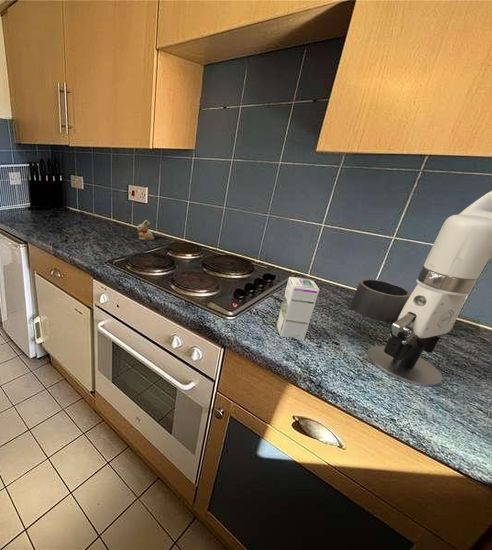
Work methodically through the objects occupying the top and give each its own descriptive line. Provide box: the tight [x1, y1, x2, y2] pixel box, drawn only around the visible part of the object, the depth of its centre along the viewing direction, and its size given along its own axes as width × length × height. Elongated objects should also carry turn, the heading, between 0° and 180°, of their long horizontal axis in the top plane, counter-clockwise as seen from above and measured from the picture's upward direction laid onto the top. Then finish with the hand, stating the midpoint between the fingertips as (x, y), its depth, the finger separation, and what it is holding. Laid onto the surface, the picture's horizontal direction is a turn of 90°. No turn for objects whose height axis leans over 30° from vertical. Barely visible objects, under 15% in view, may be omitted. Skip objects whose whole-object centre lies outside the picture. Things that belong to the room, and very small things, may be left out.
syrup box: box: [276, 276, 320, 340], centre depth 74 cm, size 6×6×14 cm
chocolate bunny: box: [136, 219, 155, 241], centre depth 148 cm, size 6×8×10 cm
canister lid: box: [366, 338, 443, 387], centre depth 65 cm, size 13×13×7 cm
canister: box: [349, 278, 412, 324], centre depth 87 cm, size 11×11×8 cm
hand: (407, 352), depth 65 cm, fingers open, 9 cm apart
